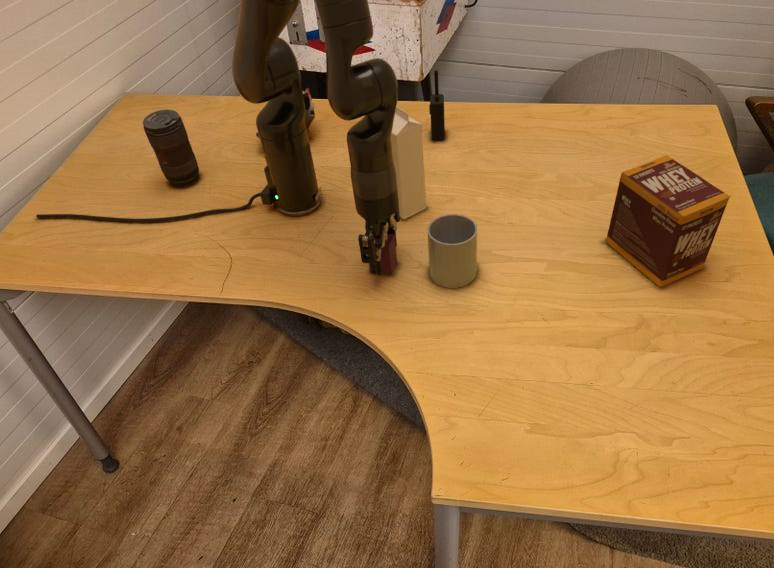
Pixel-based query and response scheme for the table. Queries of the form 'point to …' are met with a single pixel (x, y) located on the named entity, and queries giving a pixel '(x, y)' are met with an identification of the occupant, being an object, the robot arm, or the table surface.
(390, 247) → the juice box
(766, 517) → the table surface
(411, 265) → the table surface
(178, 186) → the camera lens
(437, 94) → the walkie-talkie
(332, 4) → the robot arm
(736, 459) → the table surface
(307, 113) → the lucky cat figurine
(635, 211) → the supplement box
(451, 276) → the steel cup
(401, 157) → the milk
